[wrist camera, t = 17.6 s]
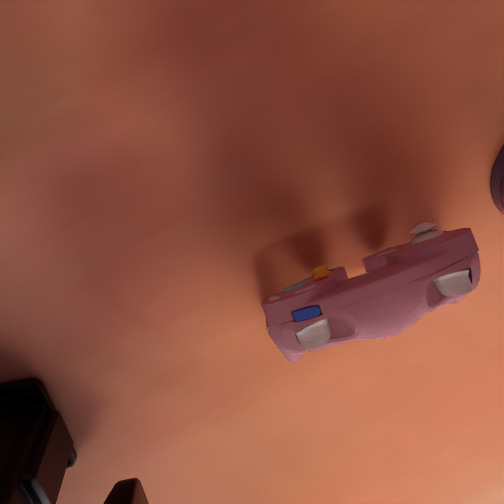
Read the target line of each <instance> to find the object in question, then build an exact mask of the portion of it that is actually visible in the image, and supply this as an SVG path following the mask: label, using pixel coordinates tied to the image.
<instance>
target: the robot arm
mask: <svg viewBox="0 0 504 504" xmlns="http://www.w3.org/2000/svg"><path fill="white" fill-rule="evenodd" d="M30 387H33V388H35V389H32V388H30ZM76 458H77V454H76V452H75V450H74V448H73V440H72V438H71V436H70V434H69V432H68V429H67V427H66V425H65V423H64V421H63V419H62V417H61V414H60V413H59V412H58V411H57V410H56V409H55V407H54V405H53V403H52V401H51V398H50V396H49V394H48V392H47V390H46V388H45V386H44V384H43V382H42V381H41V380H39V379H36V378H29V379H23V380H18V381H13V382H7V383H2V384H0V504H56V501H57V498H58V494H59V491H60V487H61V484H62V481H63V477H64V474H65V470H66V468H68V467H71V466H73V465H74V464H75V461H76ZM104 504H149V503H148V500H147V498H146V495H145V492H144V490H143V487H142V485H141V482H140V480H139V479H138V478H131V479H126V480H121V481H118V482H117V483H116V484H115V485H114V487H113V488H112V490H111V492H110V494H109V495H108V497H107V499H106V500H105V502H104Z"/></svg>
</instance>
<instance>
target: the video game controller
mask: <svg viewBox="0 0 504 504" xmlns="http://www.w3.org/2000/svg"><path fill="white" fill-rule="evenodd" d="M437 225H439V224H438V223H434V222H425V223H422V224H419V225H417V226H415V227H414V228H413V229H412V231H410V232H409V234H410V235H412V234H417V233H418V235H417V236H416V237H415V238H414V239H413V240H412V241H411V242H410V243H407V244H402V245H398V246H395V247H391V248H388V249H385V250H382V251H379V252H377V253H374V254H372V255H369V256H367V257H365V258H364V259H363V264H364V266H365V269H366V273H364V274H361V275H358V276H356V277H353V278H350V279H348V277H347V274H346V271H345V269H344V267H338V268H333V269H330V270H328V268H327V266H320V267H317V268H315V269H314V270H313V276H311V277H309V278H307V279H304V280H303V281H301V282H299V283H296V284H294V285H291V286H289V287H287V288H285V289H284V290H283V291H281V292H279V293H277V294H275V295H273V296H271V297H269V298H267V299H265V300H264V301H263V302H262V306H263V309H264V312H265V315H266V325H267V332H268V334H269V335H270V337H271V338H272V340H273V341H274V343H275V344H276V346H277V347H278V348H279V350H280V351H281V352H282V353H283V355H284V356H285V357H286V358H287V359H288V360H290V361H292V362H296V361H299V360H301V359H302V358H303V356H304V354H305V353H307V352H311V351H315V350H320V349H324V348H329V347H332V346H335V345H339V344H342V343H345V342H349V341H354V340H359V339H379V338H385V337H390V336H394V335H397V334H399V333H400V332H402V331H404V330H405V329H407V328H409V327H411V326H412V325H414V324H415V323H416V322H417V321H418V320H420V319H421V318H422V317H423V316H424V315H426V314H428V313H429V312H432V311H434V310H436V309H438V308H441V307H443V306H445V305H447V304H457V303H459V302H460V301H461V300H463V298H464V297H465V296H466V295H467V293H469V292H471V291H472V290H474V289H475V288H476V287H477V285H478V283H479V280H480V261H479V255H478V252H477V251H479V249H478V247H477V244H476V241H475V239H474V236H473V234H472V231H471V229H470V228H461V229H456V230H452V231H444V232H442V231H439V230H431V228H434V227H436V226H437Z"/></svg>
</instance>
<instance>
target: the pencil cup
mask: <svg viewBox="0 0 504 504" xmlns="http://www.w3.org/2000/svg"><path fill="white" fill-rule="evenodd" d="M491 192H492V196H493V199H494V202H495V204H496V206H497V207H498V209H499V210H500V211H501V212H502V214H504V147H503V148H502V150H501V152H500V154H499V156H498V158H497V160H496V162H495V165H494V168H493V172H492V178H491Z"/></svg>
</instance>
